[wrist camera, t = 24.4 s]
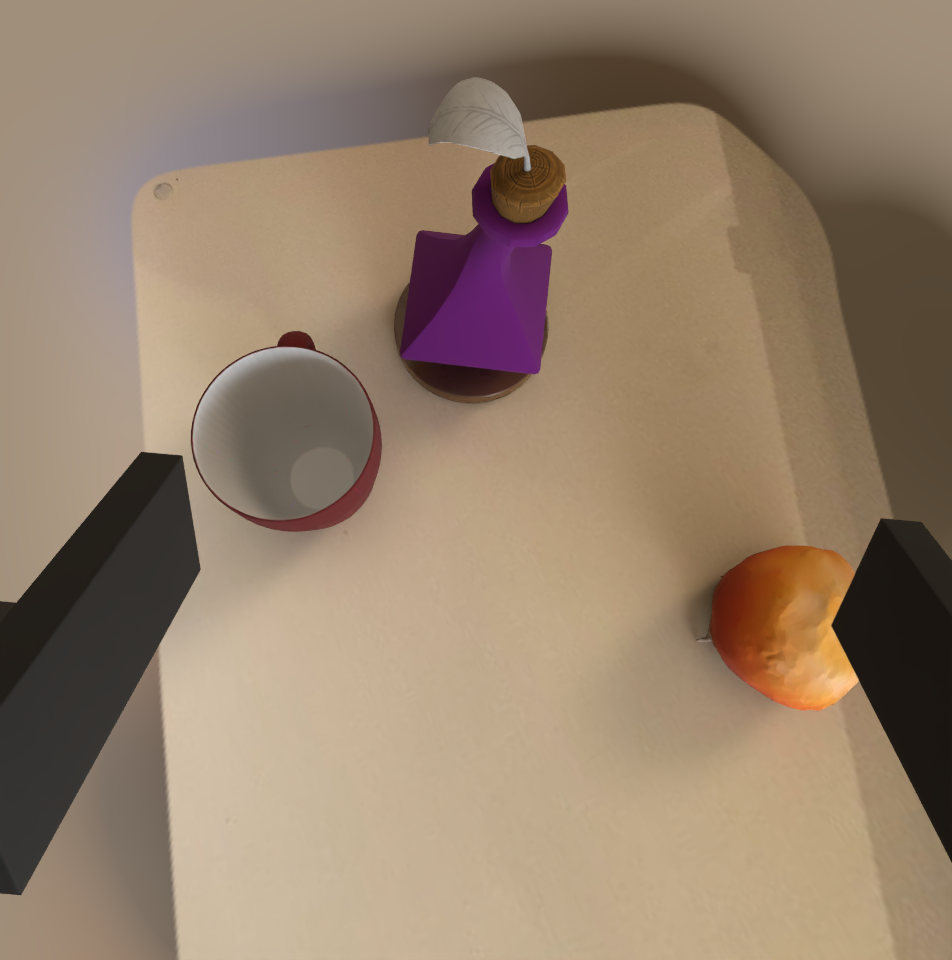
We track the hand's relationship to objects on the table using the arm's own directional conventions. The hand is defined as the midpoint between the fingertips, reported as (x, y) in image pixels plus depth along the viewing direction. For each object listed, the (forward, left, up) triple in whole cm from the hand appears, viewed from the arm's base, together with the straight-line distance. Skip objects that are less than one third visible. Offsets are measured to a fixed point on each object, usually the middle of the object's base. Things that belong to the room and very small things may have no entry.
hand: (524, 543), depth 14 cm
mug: (-10, +6, -27) cm, 30 cm away
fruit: (+16, +2, -27) cm, 31 cm away
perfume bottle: (-3, +16, -26) cm, 31 cm away
